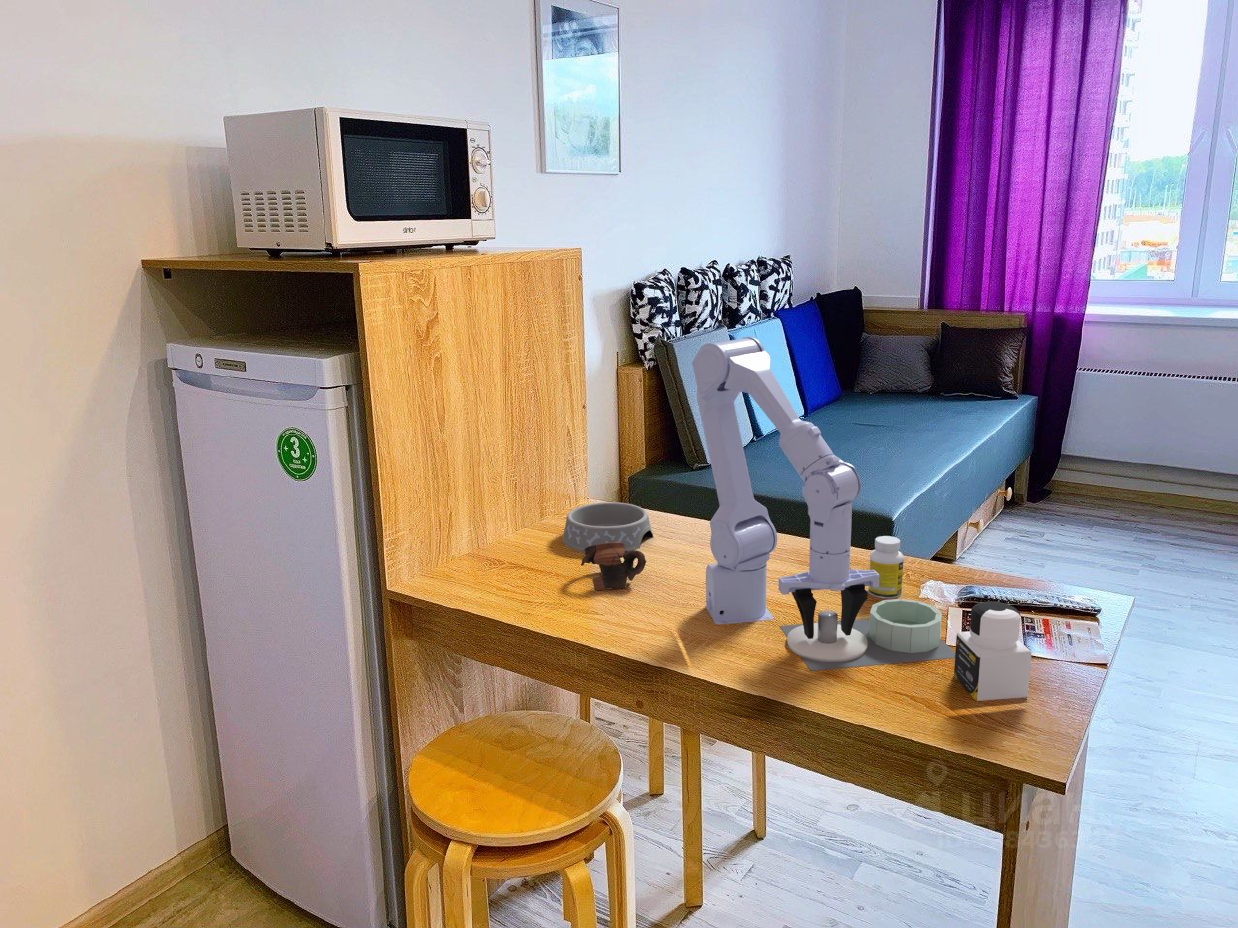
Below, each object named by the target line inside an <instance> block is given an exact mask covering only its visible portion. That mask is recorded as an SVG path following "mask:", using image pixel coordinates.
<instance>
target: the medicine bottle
mask: <svg viewBox="0 0 1238 928" xmlns="http://www.w3.org/2000/svg"><path fill="white" fill-rule="evenodd" d="M969 620H970V623H969V631H958V632H957V633H956V637H955V641H956V642H955V651H954V652H955V658H954V665H953V667H954V668H953V677H954V678H955V679H956V680H957V681H958V683H959V684H960V685H961V686H962V687H963V688H964V690H965V691H966V692H967V693H968V694H969V695H970V696H971V697H972V699H974V701H977V702H979V701H992V700H1006V699H1008V700H1009V699H1022V698H1028V695H1029V685H1030V675H1031V663H1032V662H1031V661H1032V651H1031V650H1030V649H1029V648H1028V647H1027V646H1025V645H1024V643H1022V642H1021V641H1020V640H1019V637H1020V627H1021V613H1020V612H1019V610H1018V609H1017V608H1016V607H1014V606H1012V605H1009V604H1007V603H1004V602H1000V601H994V600H993V601H990V600H989V601H981V602H979V603H976V604H975V605H973V606H972V607H971V609H970V619H969Z"/></svg>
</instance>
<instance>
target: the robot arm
mask: <svg viewBox="0 0 1238 928" xmlns="http://www.w3.org/2000/svg"><path fill="white" fill-rule="evenodd" d="M771 361H772V360H771V356H770V355H769V354H768V353H767V351H765V348H764V346H763V344H762V343H761V342H760V341H759V339H757V338H755V337H752V336H744V337H742V338H737V339H731V340H726V341H720V342H707V343H704V344H703V345H702V346H700V348H699V349H698V351H697V353H696V355H695V356H694V357H693V360H692V361H691V363H692V369H693V373H694V378H695V382H696V399H697V405H698V408H699V414H700V419H701V423H702V427H703V433H704V437H705V438H704V439H705V442H706V446H707V451H708V452H707V453H708V457H709V461H710V466H711V470H712V471H711V472H712V475H713V480H714V484H715V489H716V494H717V498H718V505H719V507H718V508H717V510H716V512H715V513H714V515H712V518H711V519H710V521H709V526H710V540H709V545H710V546H709V547H710V551H711V554H712V556H713V558H714V559H715V561H716V563H711V564H708V565H706V569H705V604H704V607H705V608H706V610H707V612H708V613H709V615H710V617H711V619H712V620H713V623H714V624H715V625H727V624H738V623H751V622H761V621H772V620H774V619H775V617H773V614H772V613H771V612H770V611H769V609H768V608H767V563H768V561H769V560H770V556H771V555H770V554H771V553H773V551H775V549H776V547H777V545H778V533H777V530H776V528H775V526H774V524H773V523H772V521H771V519H770V516H769V512H768V509H767V507H766V506H765V505H762V504H761V503H760V502H758V501H757V500H756V499H755V497H754V493H753V492H754V491H753V489H752V484H751V478H750V474H749V469H748V464H747V459H746V455H745V454H746V453H745V449H744V446H743V441H742V435H741V431H740V425H739V421H738V417H737V412H736V407H735V401H736V399H737V398H738V396H739V395H740V393H746V394H749V395H750V397H751V398H752V399H753V401H754V402H755V403H756V404H757V405H758V406H759V408H760V409H761V411H762V412H763V413H764V414H765V415H766V417H767V418H768V420H770V422H771V423H772V424H773V426H774V427H775V428H776V430H777V431H778V432H779V433H780V435H779V442H778V446H779V448H780V449H781V451H782V453H784V455H785V456H786V458H787V460H789V462H790V464H791V465H792V467H793V468H794V469H795V471H796V473H797V474H798V475H799V477H800V478H801V480H802V481H803V483H804V485H802V486H801V493H802V496H803V499H804V501H805V503H806V505H807V515H808V516H809V519H810V521H809V522H810V523H809V528H810V529H809V561H808V565H809V569H808V571H804V572H801V573H797V574H793V575H788V576H781V577H778V591H779V592H780V593H781V594H782V595H784V596H786V595H789V594H790V593H791V595H792V597H793V599H794V600H795V601H794V602H795V603H796V605H797V608H798V612H799V614H800V617H801V621H802V624H803V627H804V634H805V635H806V636H807V638H808V639H813V636H814V623H815V612H816V606H817V602H818V601H817V599H816V598H814V593H812V591H824V590H830V591H831V592H838V591H840V599H841V613H840V614H841V616H840V621H841V630H842V631H843V633H844V634H845V635H846V636H848V635H851V631H852V627H853V624H854V621H855V619H857V616H858V613H859V612H860V610H861V608H863V605H864V604H865V603H866V601H867V600H868V595H869V592H868V590H866V587H868V586H871V587H879V574H878V573H877V572H876V571H875V570H869V569H865V570H864V569H850V568H851V567H850V566H851V564H850V563H851V542H852V541H851V540H852V515H853V513H852V512H853V502H852V501H855V500H856V499H857V498H858V496H859V495H860V494H861V490H862V480H861V478H860V475H859V473H858V472H857V469H856V467H855V466H854V465H852V464H851V463H849V462H846V461H843V460H842V459H841V458H840V457H838V456H836V455H835V454H834V451H833V450H832V449H831V448H830V447H829V445H828V443H827V442H826V441H825V439H824V437H822V432H821V430H820V428H819V427H818V426H815V424H813V422H810V421H804V420H801V419H800V417H799V416H798V413H797V412H796V410H795V409H794V407H793V405H792V403H791V402H790V400H789V399H788V396H787V395H786V393H785V391H784V390H783V388H782V387H781V385H780V383H779V381H778V379H777V378H776V376H775V374H774V373H773V372H772V368H771V363H772V362H771Z"/></svg>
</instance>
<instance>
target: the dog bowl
mask: <svg viewBox="0 0 1238 928" xmlns="http://www.w3.org/2000/svg"><path fill="white" fill-rule="evenodd" d="M563 530H564V531H563V534H562V539H561V540H562V543H563V545H565V546H566V547H567V548H569V549H571V550H573V551H575V552H580V553H584V554H585V551H584V549H585V548H587V547H590V546H592V545H597V544H602V543H609V542H621V543H624V544H625V550H627V551H633V550H639V549H640V548H641V543H642V540H643V537H644V535H645V534H646V533H647V532H648V533H651V535H652V536H651V537H654V533H653V530H652V527H651V523H650V518H649V514H648V511H646V510H645V509H644V508H642V507H641V506H638V505H635V504H632V503H625V502H616V501H615V502H614V501H609V502H608V501H607V502H605V501H604V502H603V501H602V502H594V503H589V504H583V505H581V506H577V507H575V508H574V509H571V510H570V511H568V514H567V515H566V521H565V526H564V529H563Z"/></svg>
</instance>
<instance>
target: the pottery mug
mask: <svg viewBox="0 0 1238 928" xmlns="http://www.w3.org/2000/svg"><path fill="white" fill-rule="evenodd" d="M584 551H585V553H584V556H583V557H582V560H581V564H580V566H584V565H585V564H590V563H591V564H592V565H598V567H599V569H600V573H601V575H599V576H596V577H593V578H592V579H591V580H592V585H593V589H594V591H600V590H601V591H602V590H608V589H612V590H615V589H626V588H627V581H631V582H632V581H633V579H635V577H636V576H637V575H639V574H641V573H642V572H643V570H644V569H645V566H646V565H647V560H646V558H645V554H644V553H643V552H642V551H641V550H640V551H639V550H638V549H636V550H633V551H627V550H625V544H624V543H621V542H609V543H602V544H597V545H592V546H590V547H587V548H585V549H584ZM621 558H623V561H622V559H621ZM635 559H637V563H636V565H635V564H634V562H635ZM634 565H635V567H634Z"/></svg>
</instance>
